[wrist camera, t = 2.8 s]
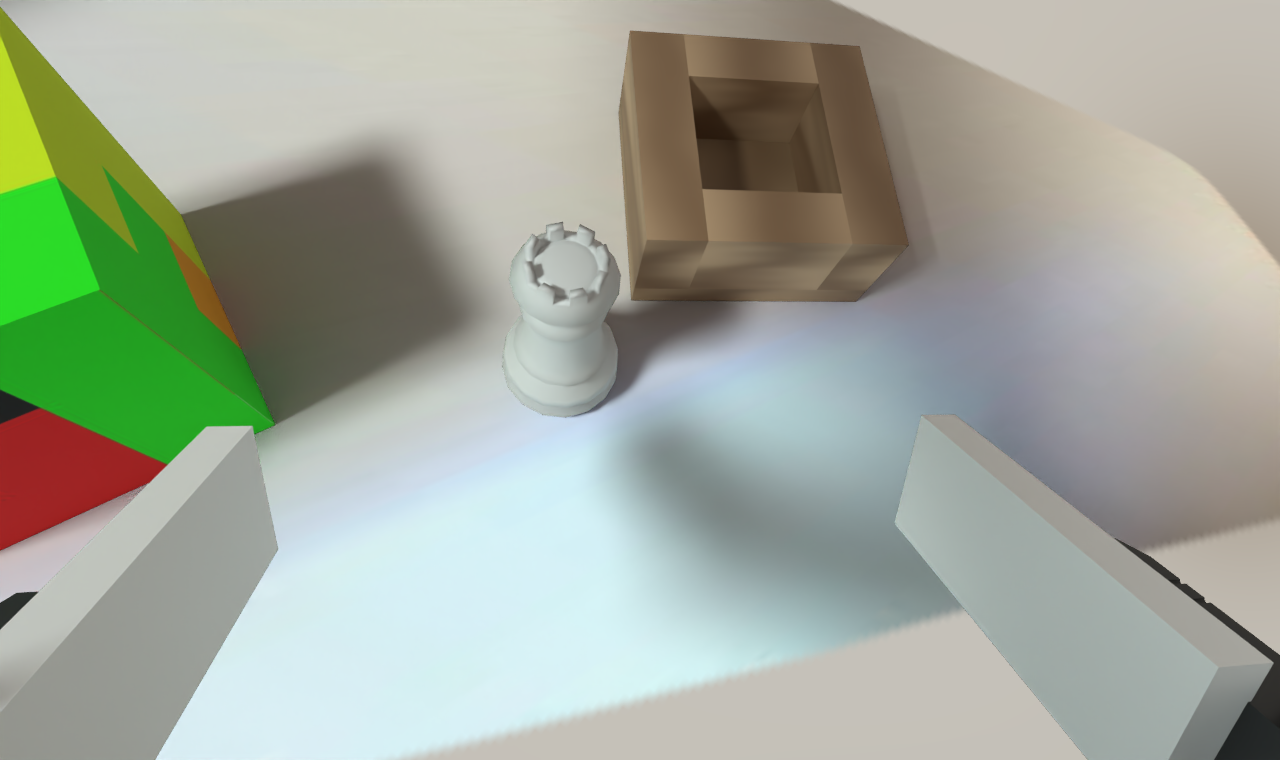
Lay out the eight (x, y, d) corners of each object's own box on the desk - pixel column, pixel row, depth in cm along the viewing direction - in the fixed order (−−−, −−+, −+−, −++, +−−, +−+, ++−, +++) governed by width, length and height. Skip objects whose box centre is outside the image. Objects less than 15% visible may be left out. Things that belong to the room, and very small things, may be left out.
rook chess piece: (554, 296, 27) (557, 167, 19) (639, 362, 26) (675, 255, 19) (478, 373, 25) (450, 264, 18) (567, 444, 24) (576, 363, 17)
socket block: (631, 300, 27) (646, 239, 23) (618, 112, 31) (629, 30, 26) (856, 301, 29) (908, 245, 24) (819, 122, 32) (859, 46, 28)
